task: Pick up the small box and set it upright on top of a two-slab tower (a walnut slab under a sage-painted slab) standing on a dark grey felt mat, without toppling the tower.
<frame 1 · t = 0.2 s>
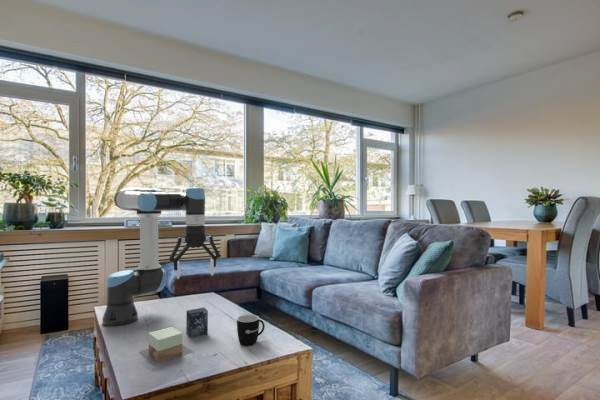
hand: (195, 276, 138), 27 cm above the table, fingers open, 13 cm apart
box: (197, 335, 145), on the table
tower top: (165, 343, 125), point 4 cm above the table, touching tower bottom
mug: (251, 342, 137), on the table
felt mat: (165, 352, 127), on the table
tower bottom: (165, 354, 125), resting on felt mat, touching tower top
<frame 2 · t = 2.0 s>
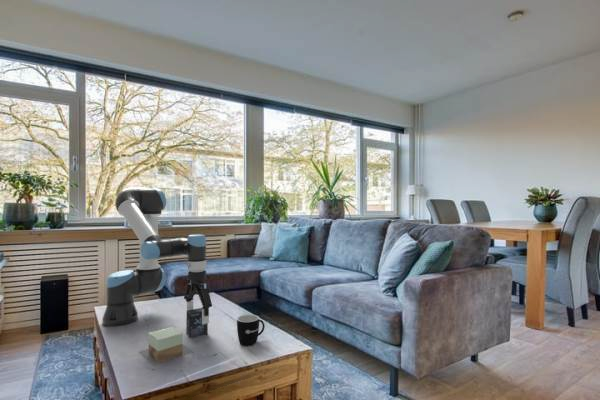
hand: (197, 319, 145), 7 cm above the table, fingers open, 13 cm apart
nothing on the table moved.
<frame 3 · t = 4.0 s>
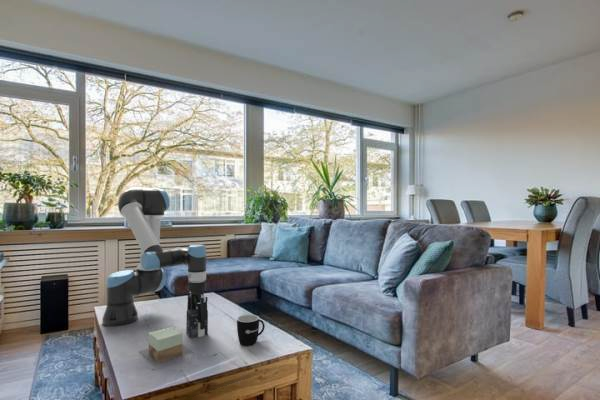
hand: (197, 334, 145), 0 cm above the table, fingers open, 6 cm apart
nothing on the table moved.
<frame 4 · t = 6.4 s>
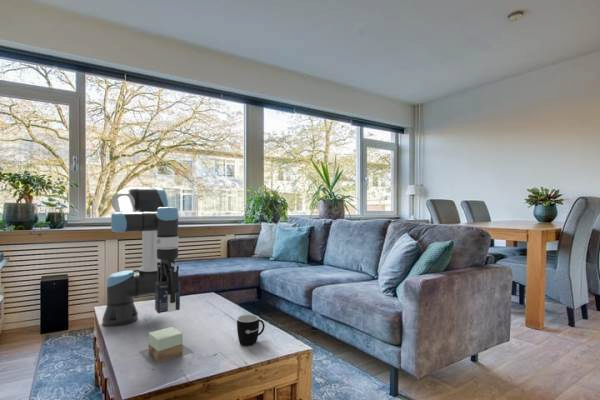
hand: (167, 309, 126), 17 cm above the table, fingers closed on box, 6 cm apart
box: (167, 310, 126), point 17 cm above the table, touching gripper
everything else where it was.
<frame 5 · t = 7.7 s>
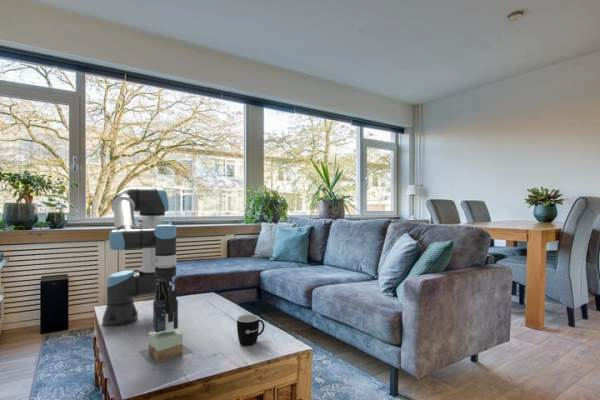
hand: (165, 327, 125), 10 cm above the table, fingers closed on box, 6 cm apart
box: (165, 329, 125), point 10 cm above the table, touching gripper
everything else where it was.
when the fingers open (10 cm above the table, at t = 8.7 s): box stays where it is, resting on tower top.
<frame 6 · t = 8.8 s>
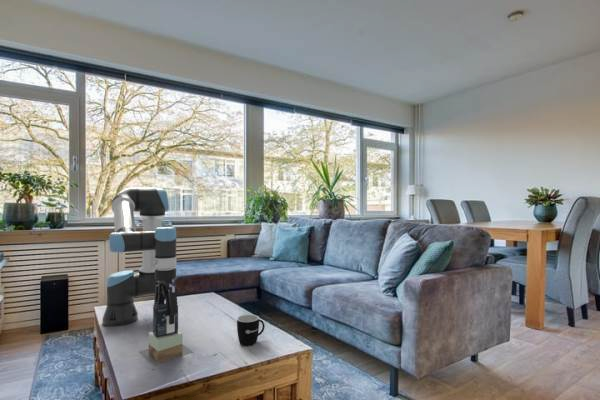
hand: (165, 329, 125), 10 cm above the table, fingers open, 8 cm apart
box: (165, 333, 125), point 8 cm above the table, touching tower top
tower top: (165, 343, 125), point 4 cm above the table, touching box, tower bottom
everything else where it was.
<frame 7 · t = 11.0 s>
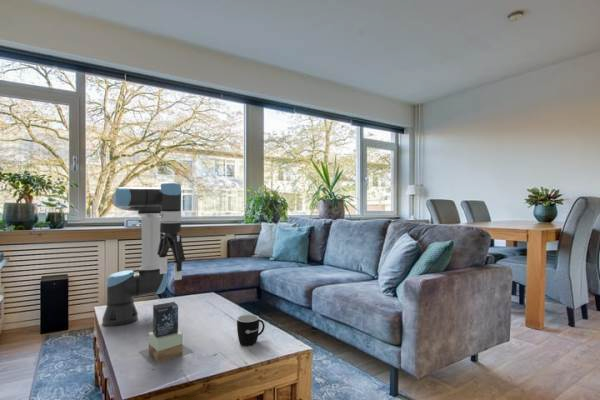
hand: (170, 276, 131), 28 cm above the table, fingers open, 13 cm apart
nothing on the table moved.
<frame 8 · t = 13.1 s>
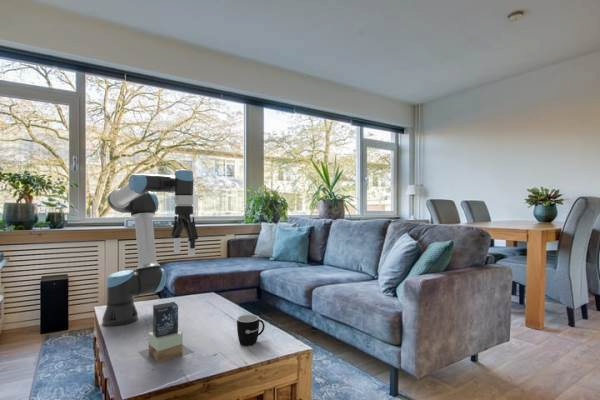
hand: (184, 254, 145), 35 cm above the table, fingers open, 13 cm apart
nothing on the table moved.
at the end: box inside the target area on the tower bottom (0.1 cm from its centre), point 7.8 cm above the tower bottom's base; box tilted 0°; tower top 0.0 cm off-centre on the tower bottom, point 4.0 cm above the tower bottom's base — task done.
